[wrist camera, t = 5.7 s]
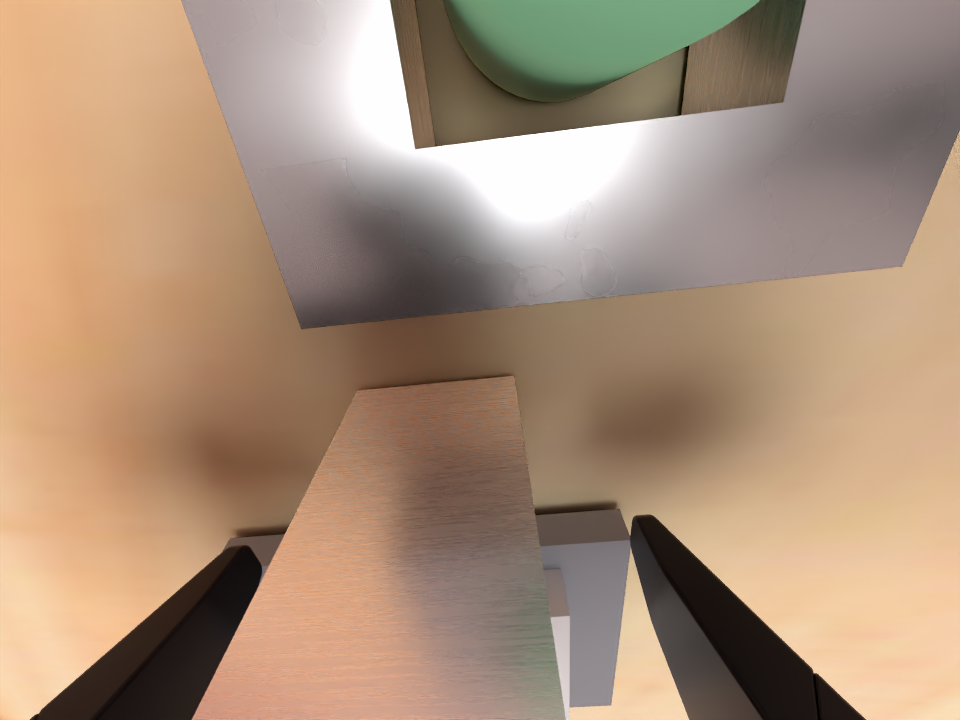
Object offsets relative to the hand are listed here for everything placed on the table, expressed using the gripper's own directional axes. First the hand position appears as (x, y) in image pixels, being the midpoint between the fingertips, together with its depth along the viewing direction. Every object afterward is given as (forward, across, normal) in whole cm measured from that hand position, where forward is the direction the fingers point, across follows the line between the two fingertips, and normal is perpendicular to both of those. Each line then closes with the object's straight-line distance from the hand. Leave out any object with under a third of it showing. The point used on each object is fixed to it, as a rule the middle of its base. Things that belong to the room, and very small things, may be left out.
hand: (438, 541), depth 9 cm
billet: (+3, 0, 0) cm, 3 cm away
